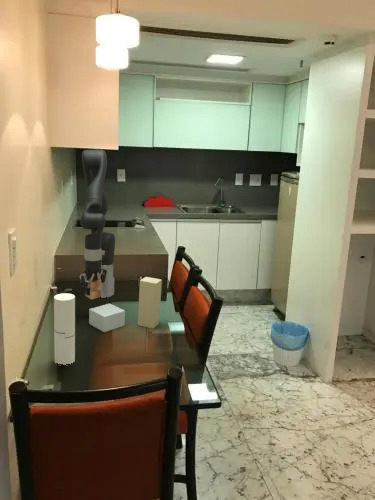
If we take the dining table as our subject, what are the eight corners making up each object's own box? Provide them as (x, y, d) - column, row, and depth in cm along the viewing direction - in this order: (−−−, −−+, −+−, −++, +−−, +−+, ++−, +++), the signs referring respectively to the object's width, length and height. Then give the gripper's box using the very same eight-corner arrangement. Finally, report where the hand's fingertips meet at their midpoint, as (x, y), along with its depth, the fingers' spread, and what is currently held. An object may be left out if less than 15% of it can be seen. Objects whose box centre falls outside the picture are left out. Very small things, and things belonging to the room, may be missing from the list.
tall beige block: (160, 322, 202) (162, 278, 197) (153, 328, 195) (156, 283, 190) (144, 319, 204) (146, 276, 199) (137, 325, 197) (139, 280, 192)
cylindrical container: (56, 355, 167) (56, 292, 160) (76, 356, 167) (76, 293, 161) (52, 365, 160) (52, 300, 153) (73, 365, 160) (73, 300, 154)
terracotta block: (94, 293, 205) (94, 277, 203) (100, 296, 202) (101, 280, 200) (85, 296, 201) (85, 279, 199) (91, 299, 198) (91, 282, 196)
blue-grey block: (109, 317, 204) (109, 303, 202) (124, 325, 196) (125, 310, 195) (89, 323, 196) (89, 309, 194) (104, 332, 189) (104, 316, 187)
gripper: (101, 253, 204) (100, 287, 209) (74, 258, 194) (74, 295, 198) (111, 256, 199) (110, 292, 204) (84, 262, 189) (84, 300, 194)
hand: (93, 293), depth 201 cm, fingers closed on terracotta block, 5 cm apart
